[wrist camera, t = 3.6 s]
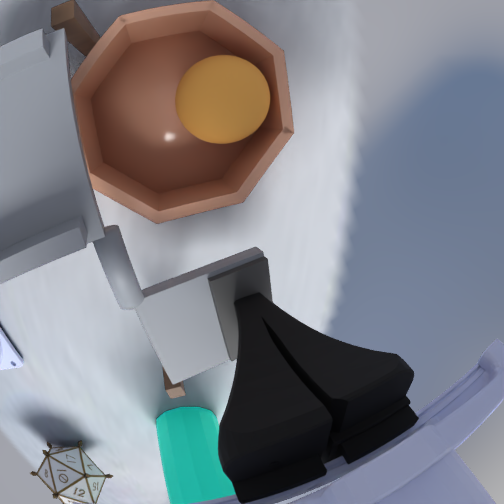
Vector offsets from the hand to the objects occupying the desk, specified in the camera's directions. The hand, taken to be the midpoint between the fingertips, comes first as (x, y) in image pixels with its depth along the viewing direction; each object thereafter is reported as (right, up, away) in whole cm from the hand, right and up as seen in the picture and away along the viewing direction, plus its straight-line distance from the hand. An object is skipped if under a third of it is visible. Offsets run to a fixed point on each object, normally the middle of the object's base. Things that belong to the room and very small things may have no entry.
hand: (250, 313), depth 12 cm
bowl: (-4, +10, 0) cm, 10 cm away
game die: (-20, -19, +9) cm, 29 cm away
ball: (-1, +9, -1) cm, 9 cm away
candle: (-6, -13, +11) cm, 19 cm away
